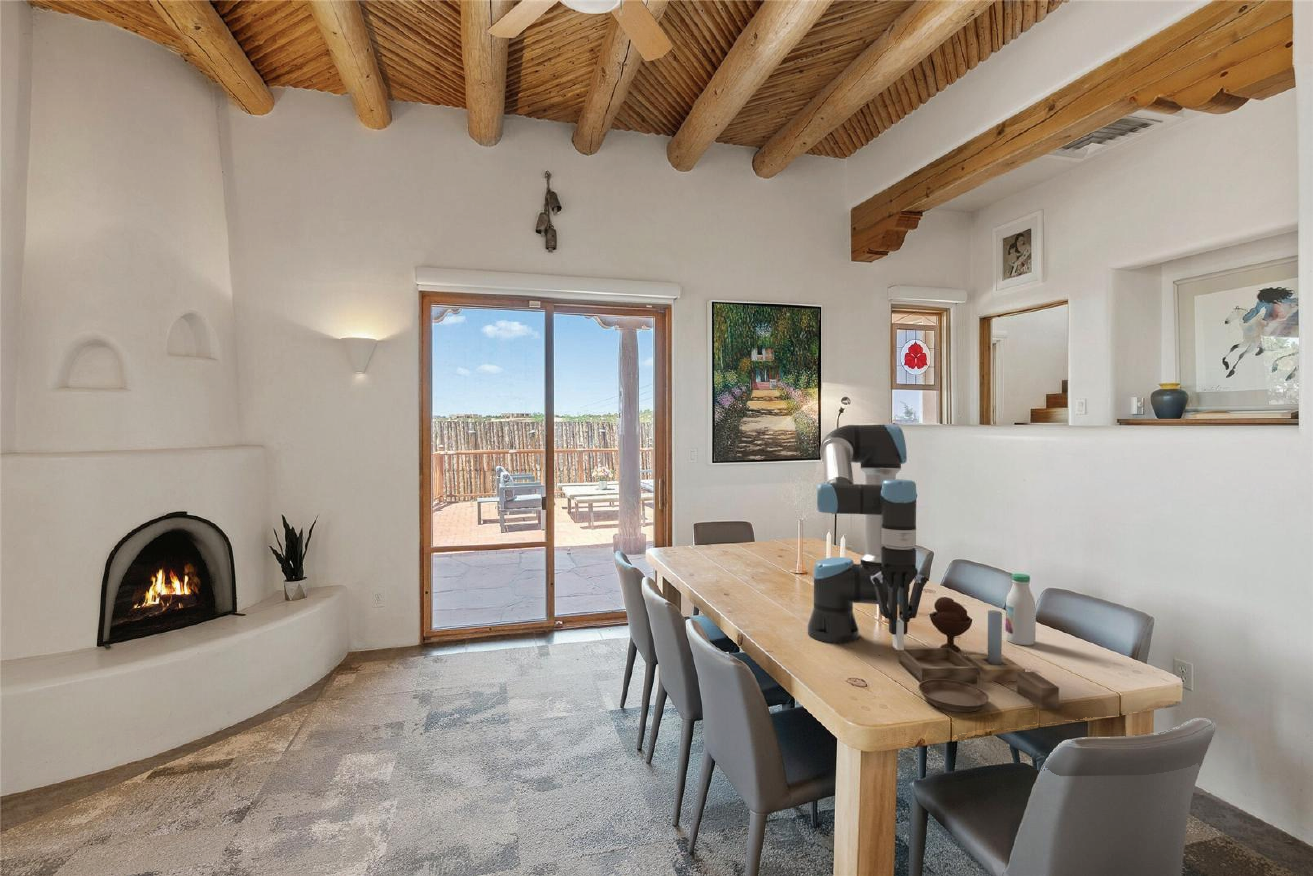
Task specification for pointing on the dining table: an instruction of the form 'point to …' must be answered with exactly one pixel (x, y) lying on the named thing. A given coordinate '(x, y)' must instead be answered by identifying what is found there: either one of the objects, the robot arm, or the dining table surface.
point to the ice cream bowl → (950, 620)
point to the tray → (937, 665)
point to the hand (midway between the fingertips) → (898, 647)
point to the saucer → (953, 695)
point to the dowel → (994, 637)
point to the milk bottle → (1020, 612)
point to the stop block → (1038, 690)
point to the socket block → (995, 668)
